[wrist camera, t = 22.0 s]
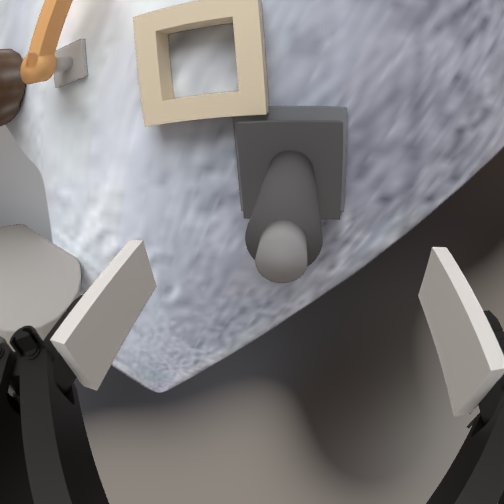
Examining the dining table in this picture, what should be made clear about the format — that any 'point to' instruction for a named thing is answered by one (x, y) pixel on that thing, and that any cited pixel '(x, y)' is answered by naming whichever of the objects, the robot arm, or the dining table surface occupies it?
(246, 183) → the plug
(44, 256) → the alarm clock
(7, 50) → the plant pot
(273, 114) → the mat
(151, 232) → the dining table surface
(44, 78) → the orange lever handle
